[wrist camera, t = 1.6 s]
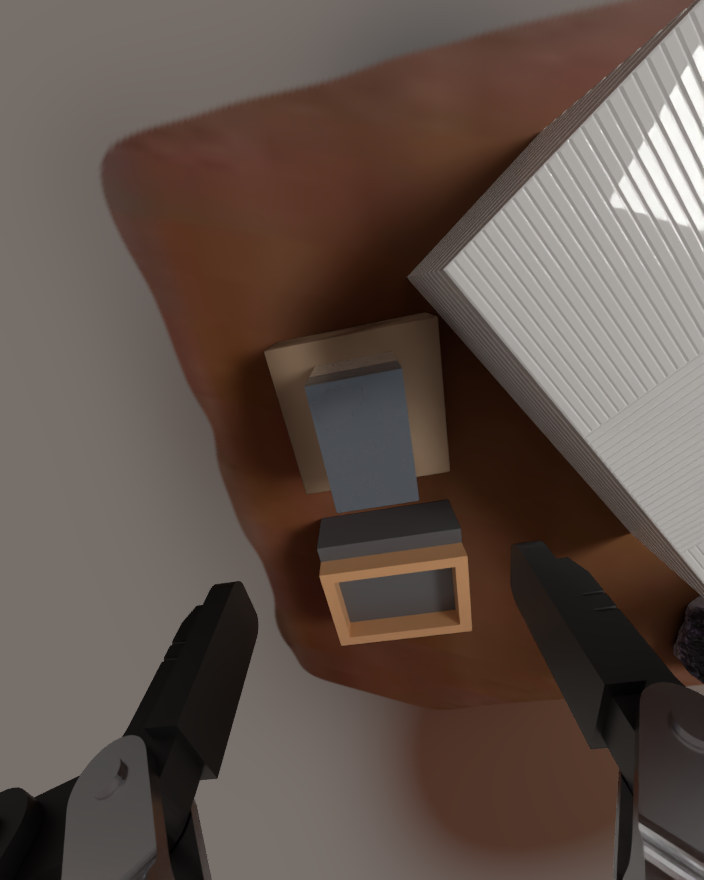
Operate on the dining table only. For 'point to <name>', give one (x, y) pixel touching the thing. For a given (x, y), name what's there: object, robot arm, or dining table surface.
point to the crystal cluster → (692, 639)
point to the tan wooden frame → (395, 573)
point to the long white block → (602, 289)
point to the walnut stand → (403, 336)
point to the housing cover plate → (364, 435)
